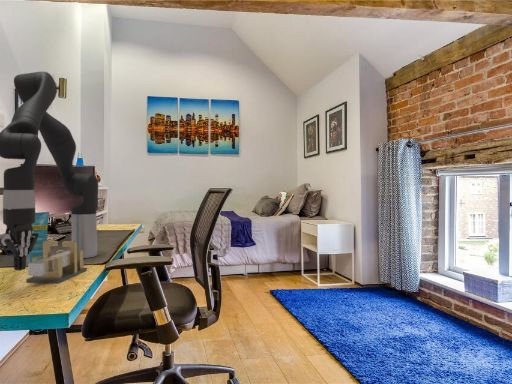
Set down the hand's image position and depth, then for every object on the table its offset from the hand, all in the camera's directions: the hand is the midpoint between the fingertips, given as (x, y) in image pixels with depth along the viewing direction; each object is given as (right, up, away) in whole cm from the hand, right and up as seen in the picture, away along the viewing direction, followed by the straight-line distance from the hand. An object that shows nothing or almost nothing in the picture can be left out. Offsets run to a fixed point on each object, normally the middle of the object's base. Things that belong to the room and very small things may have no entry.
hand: (20, 269), depth 103 cm
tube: (-14, -5, +33) cm, 36 cm away
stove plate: (+1, -6, +17) cm, 18 cm away
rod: (+1, -3, +16) cm, 16 cm away
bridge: (+2, -6, +18) cm, 19 cm away
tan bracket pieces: (+1, -5, +18) cm, 18 cm away
